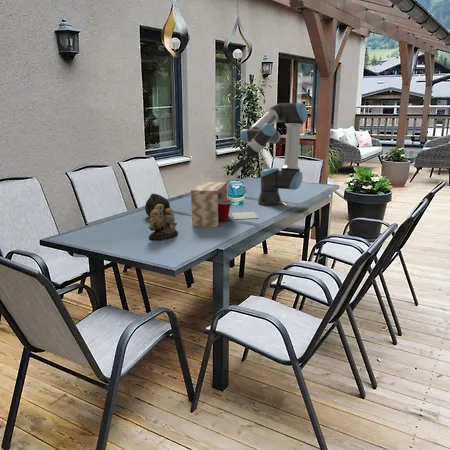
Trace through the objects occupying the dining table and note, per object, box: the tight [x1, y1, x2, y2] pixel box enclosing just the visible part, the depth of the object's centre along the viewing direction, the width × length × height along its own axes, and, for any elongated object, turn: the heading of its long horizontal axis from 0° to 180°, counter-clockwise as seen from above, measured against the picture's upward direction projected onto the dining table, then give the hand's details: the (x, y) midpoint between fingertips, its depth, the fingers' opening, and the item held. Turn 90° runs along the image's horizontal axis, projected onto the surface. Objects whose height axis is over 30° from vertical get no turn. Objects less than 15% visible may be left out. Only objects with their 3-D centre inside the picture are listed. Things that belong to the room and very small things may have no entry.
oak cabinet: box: [190, 181, 228, 228], centre depth 254 cm, size 14×26×20 cm, turn 167°
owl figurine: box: [147, 204, 179, 241], centre depth 226 cm, size 18×12×17 cm, turn 144°
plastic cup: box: [218, 198, 233, 223], centre depth 254 cm, size 11×11×12 cm
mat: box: [231, 211, 259, 221], centre depth 264 cm, size 14×14×1 cm
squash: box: [144, 193, 171, 218], centre depth 266 cm, size 14×15×15 cm
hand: (231, 177), depth 255 cm, fingers open, 13 cm apart
